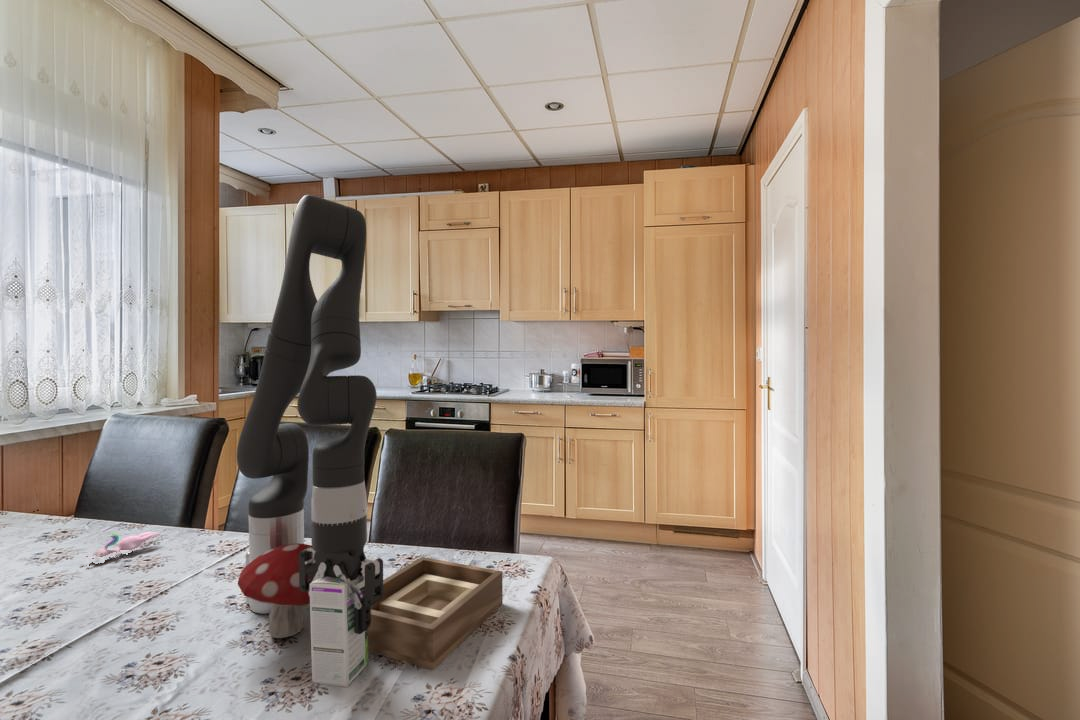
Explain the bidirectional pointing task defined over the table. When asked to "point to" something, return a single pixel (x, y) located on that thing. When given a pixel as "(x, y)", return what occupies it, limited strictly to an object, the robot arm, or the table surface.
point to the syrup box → (335, 634)
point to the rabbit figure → (124, 543)
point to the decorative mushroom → (277, 587)
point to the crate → (431, 610)
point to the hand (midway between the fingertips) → (340, 625)
